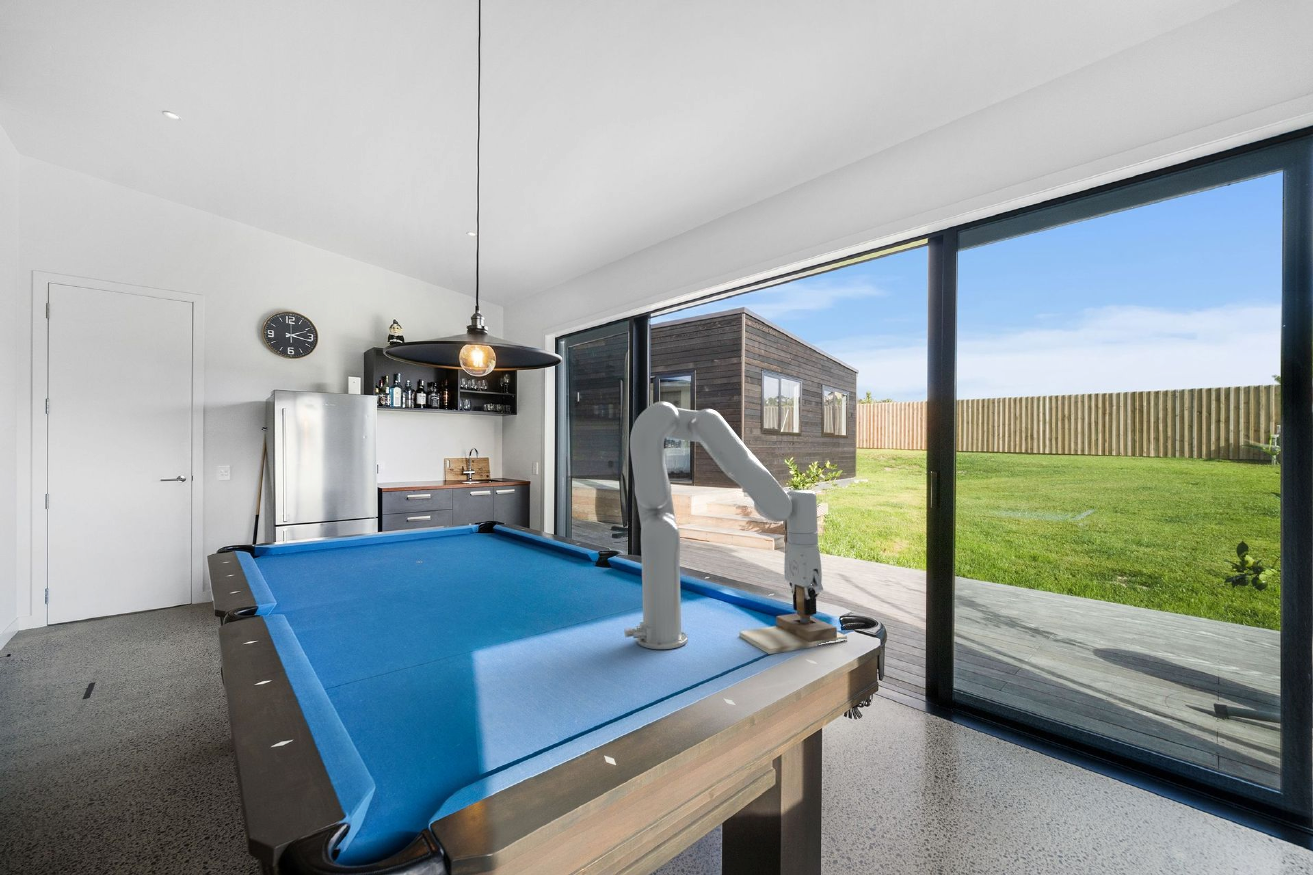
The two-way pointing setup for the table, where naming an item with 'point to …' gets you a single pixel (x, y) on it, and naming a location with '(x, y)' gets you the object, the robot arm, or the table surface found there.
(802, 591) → the tan rounded cylinder
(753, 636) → the subfloor panel
